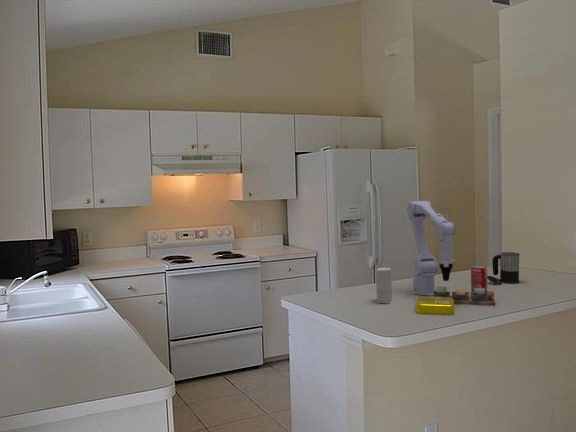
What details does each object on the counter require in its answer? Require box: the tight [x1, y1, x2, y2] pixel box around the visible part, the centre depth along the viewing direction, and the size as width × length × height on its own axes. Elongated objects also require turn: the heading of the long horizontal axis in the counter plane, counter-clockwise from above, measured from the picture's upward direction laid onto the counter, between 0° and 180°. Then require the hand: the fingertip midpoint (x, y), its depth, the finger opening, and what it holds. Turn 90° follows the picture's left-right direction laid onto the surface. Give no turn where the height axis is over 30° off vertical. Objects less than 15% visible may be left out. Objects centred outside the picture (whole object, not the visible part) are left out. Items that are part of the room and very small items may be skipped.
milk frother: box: [487, 251, 521, 285], centre depth 285 cm, size 14×16×15 cm
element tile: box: [415, 295, 455, 316], centre depth 235 cm, size 15×15×5 cm
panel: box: [427, 290, 496, 307], centre depth 248 cm, size 28×10×5 cm, turn 74°
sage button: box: [435, 285, 448, 294], centre depth 250 cm, size 4×4×3 cm
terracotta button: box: [454, 289, 467, 295], centre depth 248 cm, size 4×4×3 cm
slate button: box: [474, 288, 485, 296], centre depth 245 cm, size 4×4×3 cm
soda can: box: [470, 265, 488, 293], centre depth 261 cm, size 7×7×13 cm
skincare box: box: [375, 267, 393, 305], centre depth 251 cm, size 8×6×15 cm
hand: (445, 280), depth 248 cm, fingers closed
